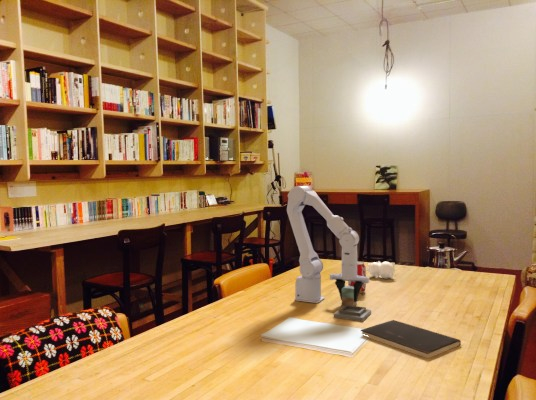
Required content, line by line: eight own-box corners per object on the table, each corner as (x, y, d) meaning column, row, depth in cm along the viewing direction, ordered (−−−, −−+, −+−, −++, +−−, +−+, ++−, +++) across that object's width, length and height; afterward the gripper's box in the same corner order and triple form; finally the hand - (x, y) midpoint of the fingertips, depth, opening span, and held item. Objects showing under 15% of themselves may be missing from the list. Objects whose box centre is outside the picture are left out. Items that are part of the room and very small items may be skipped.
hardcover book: (427, 361, 125) (427, 352, 125) (360, 337, 143) (360, 329, 143) (460, 347, 135) (460, 339, 135) (394, 326, 153) (394, 319, 153)
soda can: (361, 294, 190) (361, 265, 190) (345, 292, 195) (345, 263, 194) (368, 291, 196) (368, 262, 195) (353, 288, 200) (353, 260, 200)
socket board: (333, 317, 161) (333, 310, 161) (343, 309, 170) (343, 303, 170) (362, 321, 156) (362, 314, 156) (370, 313, 165) (370, 307, 165)
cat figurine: (368, 256, 222) (393, 258, 216) (374, 265, 230) (399, 267, 224) (364, 274, 219) (390, 276, 212) (371, 282, 226) (396, 285, 220)
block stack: (341, 305, 175) (341, 288, 175) (345, 302, 179) (345, 285, 179) (353, 307, 173) (353, 289, 173) (356, 304, 177) (356, 287, 177)
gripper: (327, 264, 175) (326, 300, 176) (365, 267, 168) (365, 305, 169) (333, 261, 181) (333, 296, 182) (371, 264, 175) (370, 300, 175)
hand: (349, 300), depth 176 cm, fingers closed on block stack, 4 cm apart
